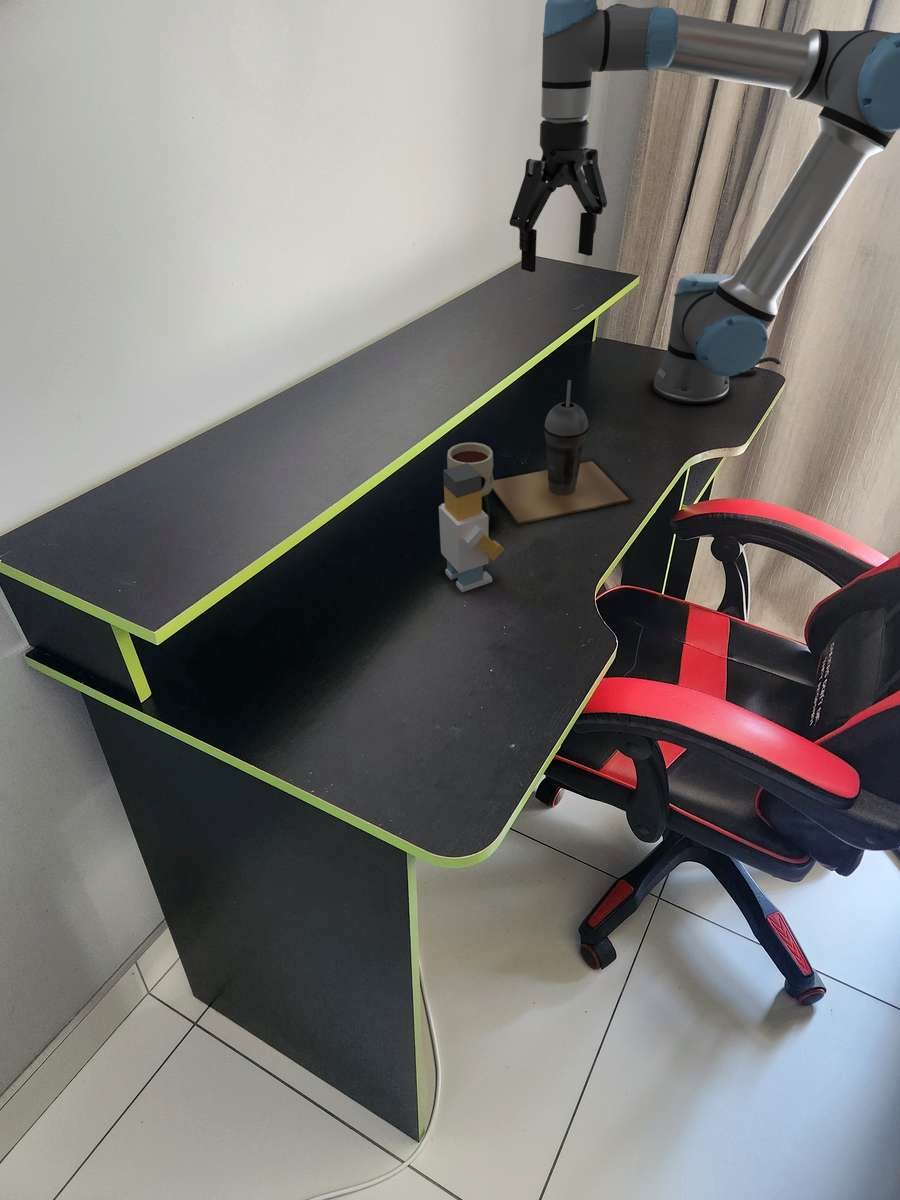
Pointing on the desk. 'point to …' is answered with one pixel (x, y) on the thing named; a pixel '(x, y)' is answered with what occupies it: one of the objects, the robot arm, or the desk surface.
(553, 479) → the beverage cup
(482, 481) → the character mug
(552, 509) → the cork mat
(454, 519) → the character figure
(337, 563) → the desk surface
